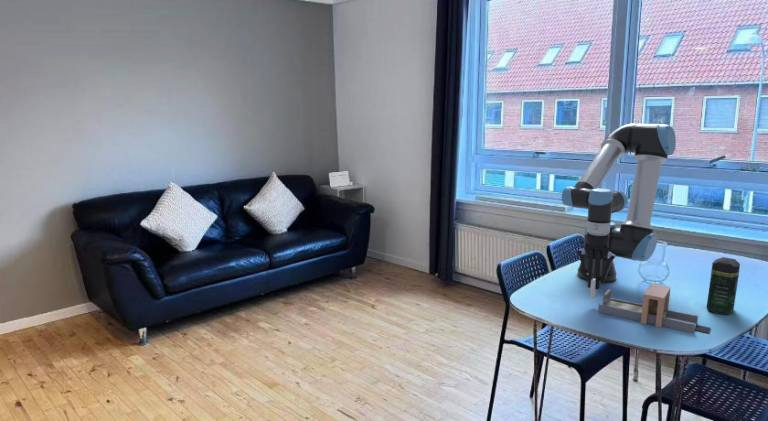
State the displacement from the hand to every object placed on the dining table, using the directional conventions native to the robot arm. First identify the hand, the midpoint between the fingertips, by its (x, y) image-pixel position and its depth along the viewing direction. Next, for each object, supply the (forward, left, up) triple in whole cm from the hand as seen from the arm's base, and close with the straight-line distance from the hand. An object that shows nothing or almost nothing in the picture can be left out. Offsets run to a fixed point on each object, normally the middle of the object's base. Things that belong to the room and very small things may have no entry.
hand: (593, 296), depth 186 cm
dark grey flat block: (+34, 0, -3) cm, 34 cm away
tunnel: (+20, 0, -3) cm, 20 cm away
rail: (+18, 0, -3) cm, 18 cm away
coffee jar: (+37, +22, -4) cm, 43 cm away
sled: (+14, 0, -2) cm, 14 cm away
